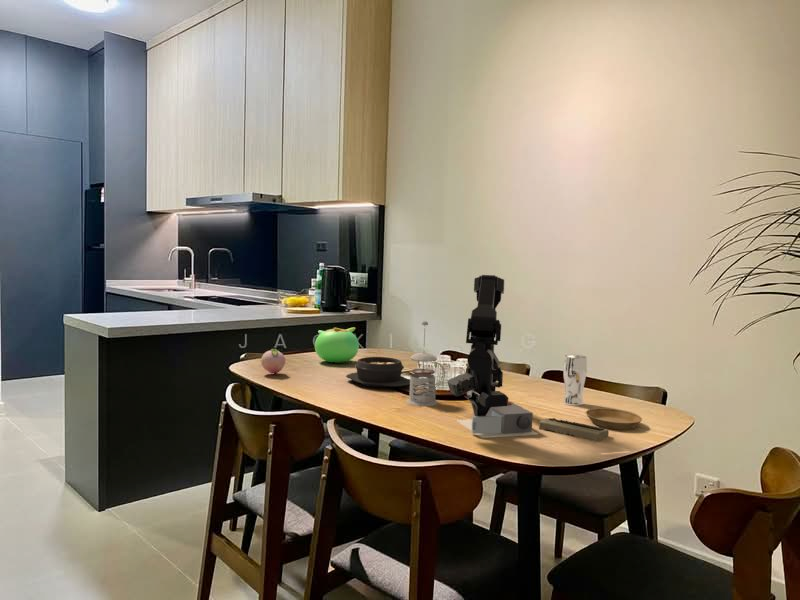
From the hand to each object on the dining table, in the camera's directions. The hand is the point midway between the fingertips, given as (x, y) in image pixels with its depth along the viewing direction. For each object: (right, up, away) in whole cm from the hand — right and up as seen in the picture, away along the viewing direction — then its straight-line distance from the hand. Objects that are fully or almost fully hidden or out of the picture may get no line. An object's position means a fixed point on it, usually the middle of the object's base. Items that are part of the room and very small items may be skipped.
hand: (478, 424), depth 150 cm
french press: (-12, 0, +31) cm, 34 cm away
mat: (+5, -2, +6) cm, 8 cm away
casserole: (-27, +2, +55) cm, 61 cm away
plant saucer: (+39, -3, +14) cm, 42 cm away
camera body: (+8, -2, +6) cm, 11 cm away
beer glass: (+34, -1, +36) cm, 50 cm away
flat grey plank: (+25, -4, +4) cm, 26 cm away
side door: (+2, -2, -2) cm, 3 cm away
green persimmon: (-46, +6, +94) cm, 105 cm away
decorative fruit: (-66, +4, +64) cm, 92 cm away
